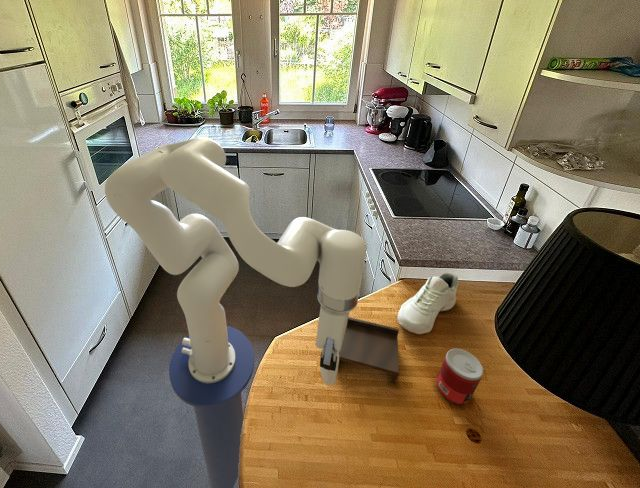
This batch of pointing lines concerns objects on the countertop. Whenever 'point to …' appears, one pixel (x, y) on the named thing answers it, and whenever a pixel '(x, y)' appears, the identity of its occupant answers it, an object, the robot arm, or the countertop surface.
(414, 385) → the countertop surface
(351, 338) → the shelf
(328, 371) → the eye dropper bottle
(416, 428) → the countertop surface
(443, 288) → the running shoe
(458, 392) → the canned food
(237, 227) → the robot arm
